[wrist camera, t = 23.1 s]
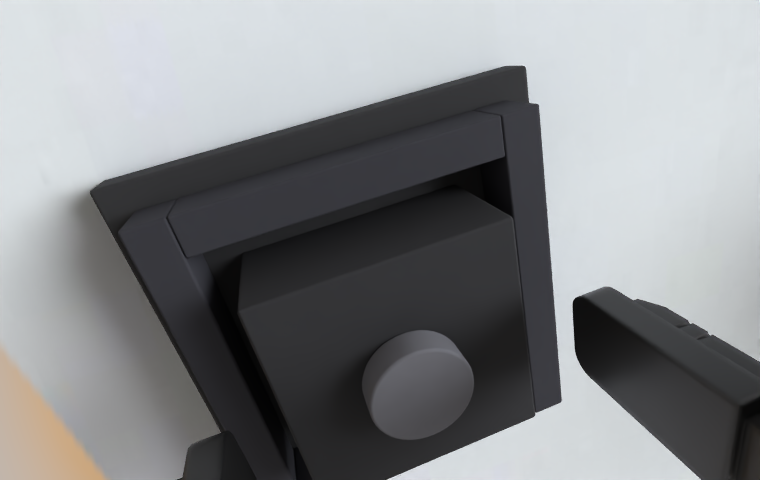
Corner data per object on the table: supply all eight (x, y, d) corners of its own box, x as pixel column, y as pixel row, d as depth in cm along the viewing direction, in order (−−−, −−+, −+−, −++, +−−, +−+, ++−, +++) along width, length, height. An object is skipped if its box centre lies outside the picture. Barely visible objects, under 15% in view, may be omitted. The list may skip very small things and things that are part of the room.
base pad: (258, 477, 15) (259, 548, 13) (100, 180, 10) (59, 211, 8) (537, 364, 17) (581, 409, 14) (507, 65, 12) (564, 64, 10)
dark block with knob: (310, 419, 13) (329, 539, 10) (240, 252, 11) (234, 335, 8) (483, 352, 14) (555, 439, 11) (455, 183, 12) (536, 228, 8)
